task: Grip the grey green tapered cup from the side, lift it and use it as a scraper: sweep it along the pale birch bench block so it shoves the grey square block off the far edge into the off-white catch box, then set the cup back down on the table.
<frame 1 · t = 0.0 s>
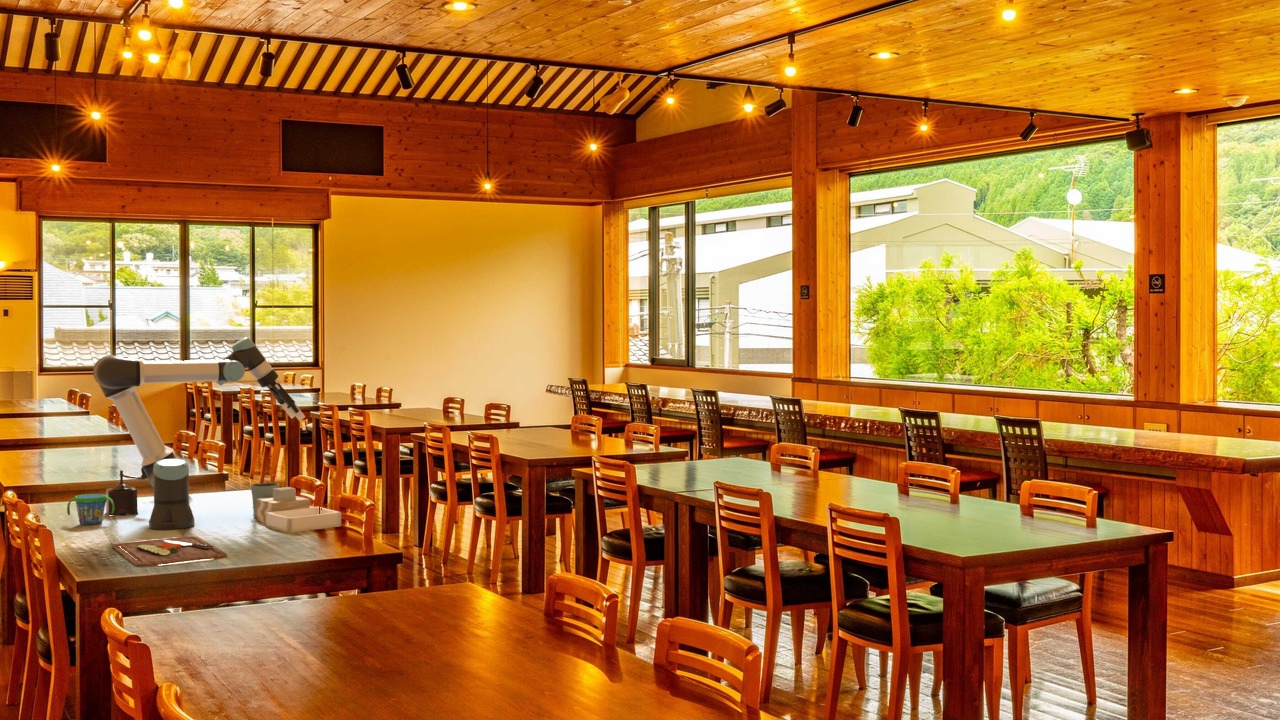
hand: (298, 417, 458), 36 cm above the table, tool tilted 35°, fingers open, 13 cm apart
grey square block: (284, 499, 435), point 8 cm above the table, touching bench block
manual coffee grinder: (129, 513, 455), on the table
chopping board: (168, 554, 378), on the table
catch box: (303, 526, 424), on the table
bench block: (283, 520, 436), on the table
grey green tapered cup: (265, 516, 447), on the table
snack cup: (91, 524, 431), on the table
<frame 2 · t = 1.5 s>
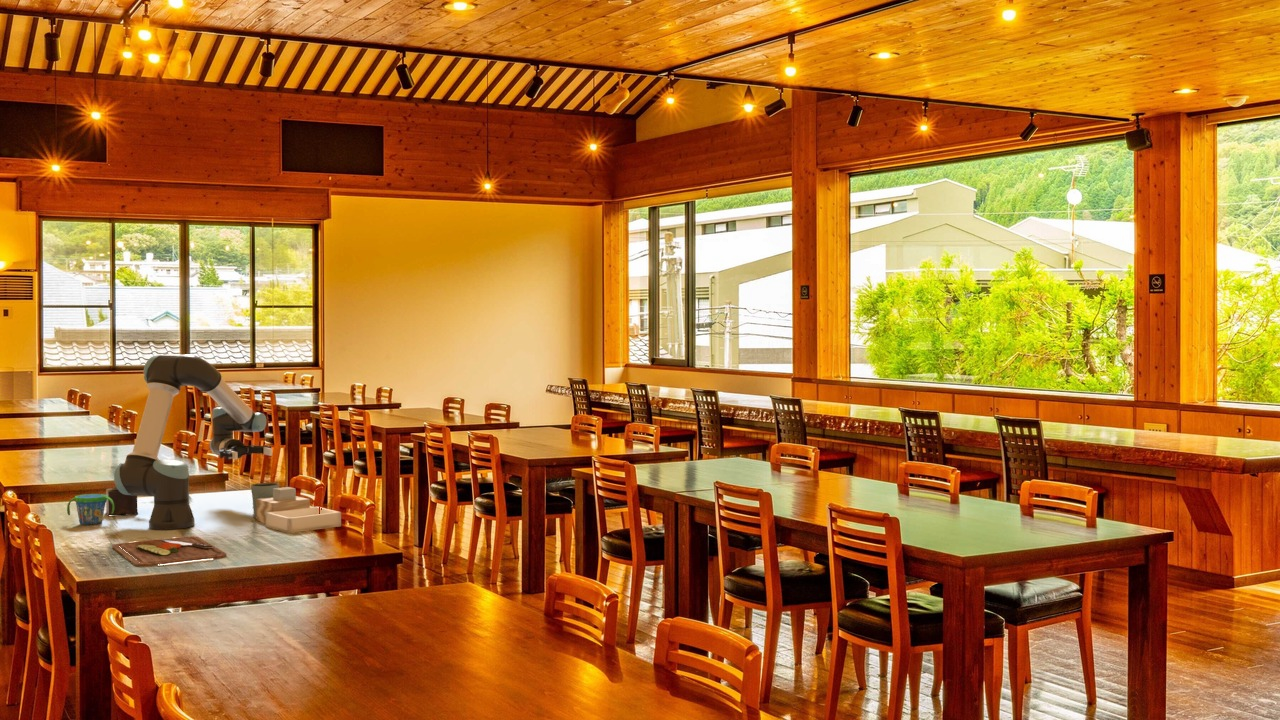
hand: (254, 454, 453), 23 cm above the table, tool horizontal, fingers open, 13 cm apart
nothing on the table moved.
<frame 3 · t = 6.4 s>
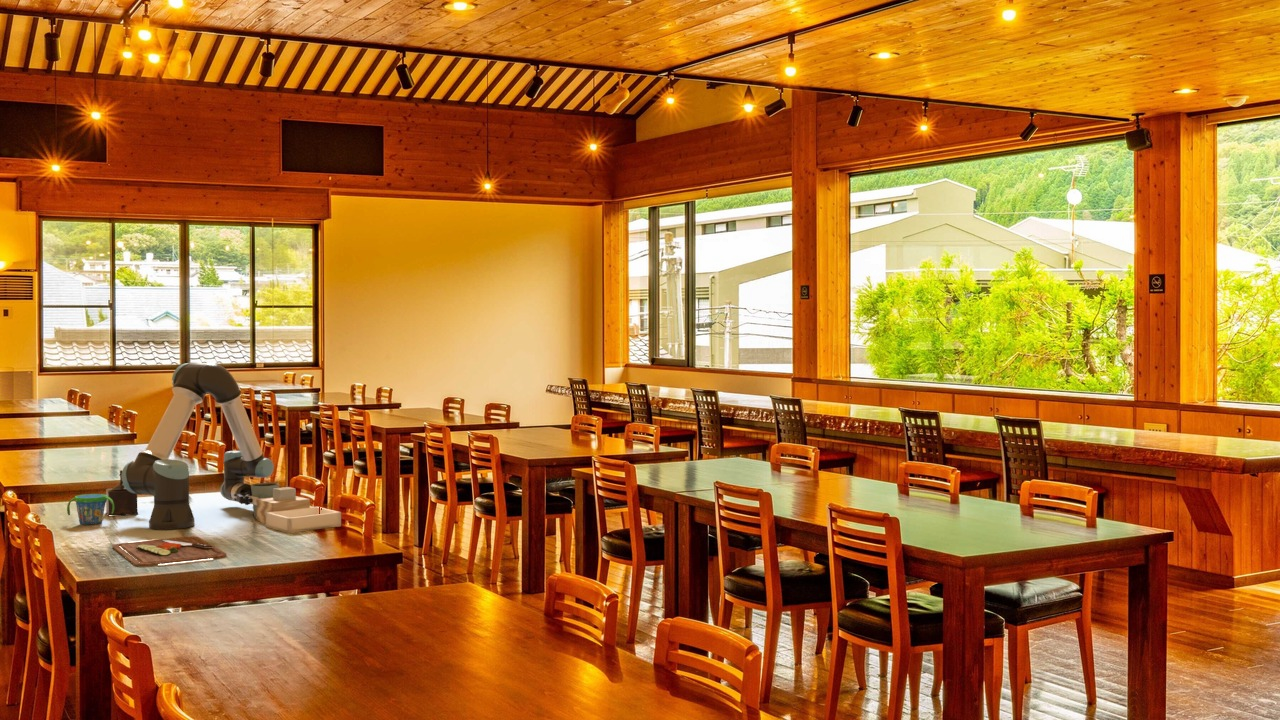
hand: (270, 500, 444), 7 cm above the table, tool horizontal, fingers closed on grey green tapered cup, 9 cm apart
grey green tapered cup: (265, 516, 447), on the table, touching gripper
everything else where it was.
when the fingers open (8 cm above the table, at t = 16.7 s): grey green tapered cup drops 2 cm, on the table.
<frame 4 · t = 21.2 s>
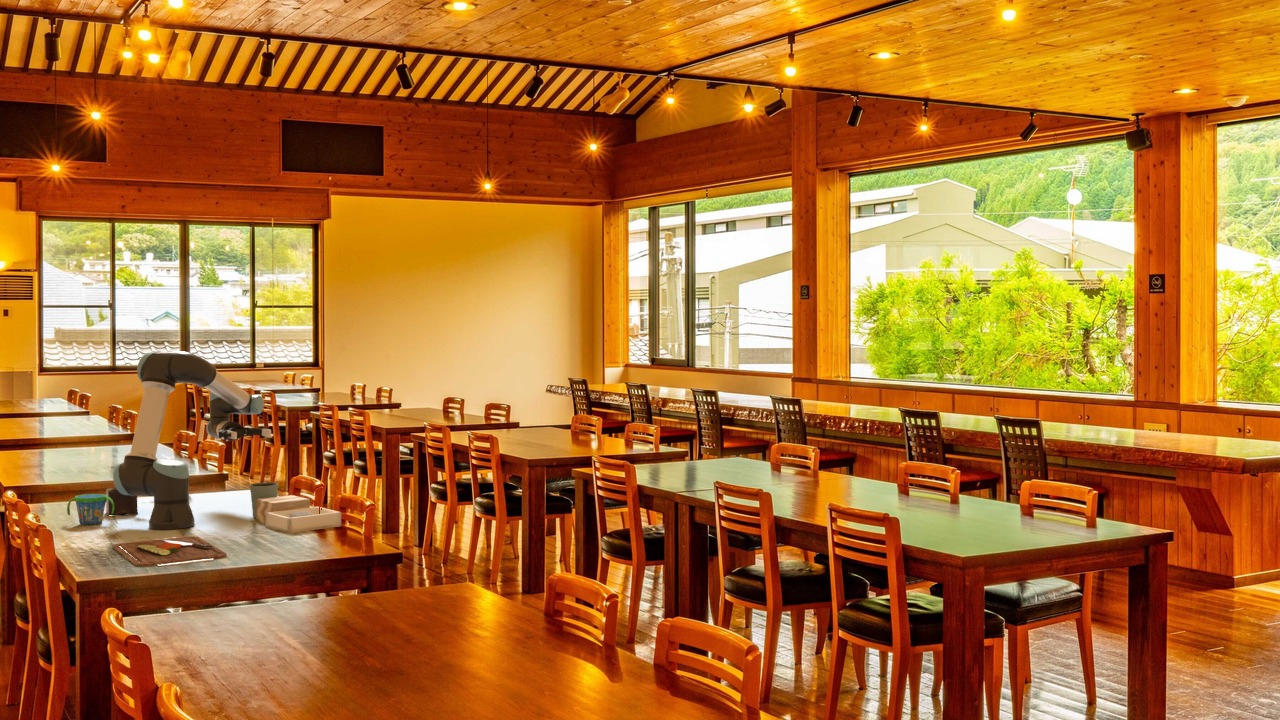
hand: (253, 434, 454), 30 cm above the table, tool horizontal, fingers open, 13 cm apart
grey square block: (301, 513, 423), point 5 cm above the table, tilted 180°, touching catch box
grey green tapered cup: (264, 516, 448), on the table
everything else where it was.
at the end: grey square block 1.1 cm from the catch box (horizontally); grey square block point 4.8 cm above the table; grey green tapered cup tilted 1° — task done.
